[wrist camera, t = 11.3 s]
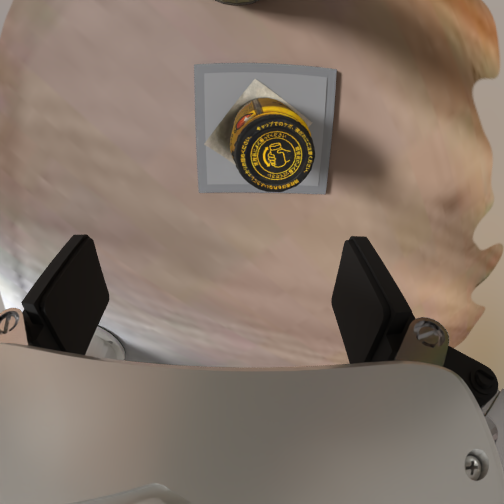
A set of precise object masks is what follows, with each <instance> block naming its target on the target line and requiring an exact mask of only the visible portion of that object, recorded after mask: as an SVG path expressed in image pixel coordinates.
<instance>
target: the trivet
mask: <svg viewBox="0 0 504 504" xmlns="http://www.w3.org/2000/svg"><path fill="white" fill-rule="evenodd" d="M336 72H337V69H329V68H321V67H312V66H301V65H288V64H270V63H215V64H196V65H194V82H195V123H196V149H197V169H198V186H199V193H211V192H260V193H304V194H326V186H327V178H328V169H329V160H330V150H331V140H332V129H333V117H334V104H335V89H336ZM254 79H256V80H258V81H259V82H261V83H262V84H263V85H265V86H266V87H267V88H269V89H270V90H271V91H273V92H274V93H275V94H277V95H278V96H279V97H281V98H282V99H283V100H285V101H286V102H287V103H289V104H290V105H291V106H292V107H294V108H295V109H296V110H297V111H299V112H300V113H301V114H302V115H304V116H305V117H306V118H307V119H308V120H310V121H311V122H312V124H311V125H310V126H309V127H308V128H309V130H310V133H311V137H312V140H313V144H314V147H315V148H314V149H315V159H314V163H313V165H312V170H311V171H310V173H309V174H308V175H307V177H306V178H305V179H304V180H303V181H302V182H301V183H300V184H299V185H297V186H296V187H293V188H291V189H288V190H286V191H283V192H266V191H263V190H259V189H257V188H255V187H254V186H252V185H251V184H249V183H248V182H247V181H246V180H245V179H244V178H243V177H242V176H241V174H240V173H239V171H238V169H237V168H236V165H235V164H233V163H232V162H230V161H229V160H228V159H226V158H224V157H223V156H221V155H220V154H218V153H217V152H215V151H214V150H212V149H211V148H209V147H207V146H206V145H204V144H205V142H206V141H207V140H208V138H209V137H210V136H211V134H212V133H213V131H214V130H215V129H216V127H217V126H218V125H219V123H220V122H221V121H222V120H223V118H224V117H225V115H226V114H227V113H228V112H229V110H230V109H231V108H232V106H233V105H234V104H235V103H236V101H237V100H238V99H239V98H240V96H241V95H242V94H243V93H244V91H245V90H246V89H247V88H248V86H249V85H250V84H251V83H252V82H253V80H254Z"/></svg>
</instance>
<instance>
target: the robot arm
mask: <svg viewBox="0 0 504 504" xmlns="http://www.w3.org/2000/svg"><path fill="white" fill-rule="evenodd" d="M108 302H109V292H108V289H107V286H106V283H105V280H104V277H103V273H102V270H101V267H100V263H99V260H98V256H97V252H96V249H95V245H94V241H93V240H92V239H91V238H90V237H89V236H88V235H73V236H72V237H71V239H70V240H69V241H68V242H67V243H66V244H65V246H64V247H63V248H62V249H61V251H60V252H59V253H58V254H57V255H56V257H55V258H54V259H53V260H52V262H51V263H50V264H49V266H48V267H47V268H46V269H45V271H44V272H43V273H42V275H41V276H40V277H39V279H38V280H37V281H36V283H35V284H34V285H33V287H32V288H31V290H30V291H29V292H28V294H27V295H26V297H25V298H24V300H23V301H22V302H21V303H22V305H23V307H24V311H23V312H22V311H21V310H20V309H17V308H9V309H6V310H4V311H3V312H1V313H0V504H504V389H502V390H501V391H499V390H498V381H497V378H496V376H495V374H494V373H493V371H492V370H491V369H490V368H488V367H487V366H485V365H483V364H481V363H480V362H478V361H476V360H474V359H472V358H470V357H468V356H466V355H465V354H463V353H461V352H459V351H457V350H455V349H454V348H452V347H450V346H448V345H449V335H448V332H447V331H446V329H445V328H444V327H443V326H442V325H441V324H440V323H439V322H437V321H435V320H433V319H430V318H425V317H421V318H416V319H415V317H414V315H413V313H412V310H411V309H410V307H409V305H408V303H407V302H406V300H405V298H404V296H403V295H402V293H401V291H400V290H399V288H398V286H397V284H396V283H395V281H394V279H393V278H392V276H391V275H390V273H389V271H388V270H387V268H386V266H385V265H384V263H383V262H382V260H381V258H380V257H379V255H378V254H377V252H376V251H375V249H374V248H373V246H372V244H371V243H370V241H369V240H368V238H367V237H357V236H351V237H350V239H349V240H346V241H345V243H344V247H343V252H342V256H341V261H340V265H339V270H338V274H337V278H336V283H335V287H334V291H333V295H332V307H333V310H334V313H335V317H336V320H337V323H338V326H339V329H340V332H341V336H342V339H343V342H344V345H345V349H346V352H347V355H348V359H349V362H350V364H340V365H323V366H303V367H274V368H230V367H199V366H180V365H166V364H154V363H143V362H133V361H124V360H125V350H124V348H123V346H122V345H121V343H120V342H119V341H118V340H117V339H116V338H115V337H114V336H113V335H111V334H110V333H109V332H107V331H106V330H104V329H102V328H100V327H98V324H99V322H100V319H101V317H102V315H103V313H104V311H105V309H106V306H107V304H108Z"/></svg>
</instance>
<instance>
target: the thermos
mask: <svg viewBox="0 0 504 504" xmlns="http://www.w3.org/2000/svg"><path fill="white" fill-rule="evenodd" d="M215 1H218V2H220V3H223V4H231V5H243V4H251V3H254V2H256V1H259V0H215Z"/></svg>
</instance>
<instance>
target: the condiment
mask: <svg viewBox="0 0 504 504" xmlns="http://www.w3.org/2000/svg"><path fill="white" fill-rule="evenodd" d="M311 124H312V122H311V121H310V120H308V119H307V118H306V117H305V116H304V115H302V114H301V113H300V112H299V111H297V110H296V109H295V108H294V107H292V106H291V105H290V104H289V103H287V102H286V101H285V100H283V99H282V98H281V97H279V96H278V95H277V94H275V93H274V92H273V91H271V90H270V89H269V88H267V87H266V86H265V85H263V84H262V83H261V82H259V81H258V80H256V79H254V80H253V82H252V83H251V84H250V85H249V86H248V88H247V89H246V90H245V91H244V93H243V94H242V95H241V96H240V98H239V99H238V100H237V101H236V103H235V104H234V105H233V106H232V108H231V109H230V110H229V112H228V113H227V114H226V115H225V117H224V118H223V120H222V121H221V122H220V123H219V125H218V126H217V127H216V129H215V130H214V131H213V133H212V134H211V136H210V137H209V138H208V140H207V141H206V142H205V144H204V145H206V146H207V147H209V148H211V149H212V150H214V151H215V152H217V153H218V154H220V155H221V156H223V157H224V158H226V159H228V160H229V161H230V162H232V163H233V164H235V165H236V168H237V169H238V171H239V173H240V174H241V176H242V177H243V178H244V179H245V180H246V181H247V182H248V183H249V184H251V185H252V186H254V187H255V188H257V189H259V190H263V191H266V192H283V191H286V190H288V189H291V188H293V187H296V186H297V185H299V184H300V183H301V182H302V181H303V180H304V179H305V178H306V177H307V175H308V174H309V173H310V171H311V170H312V165H313V163H314V159H315V149H314V148H315V147H314V144H313V140H312V137H311V133H310V130H309V128H308V127H309V126H310V125H311Z"/></svg>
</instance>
